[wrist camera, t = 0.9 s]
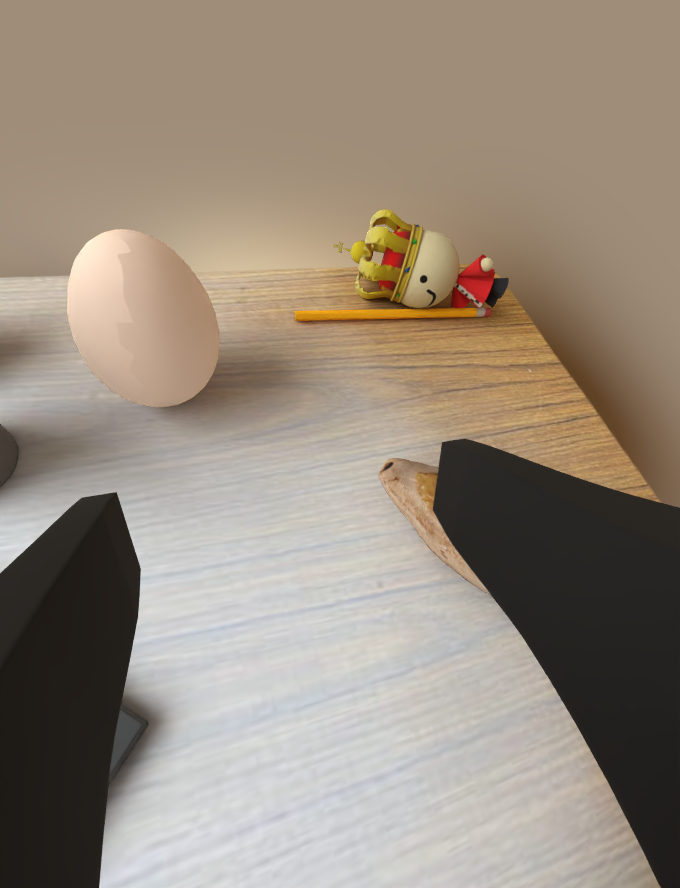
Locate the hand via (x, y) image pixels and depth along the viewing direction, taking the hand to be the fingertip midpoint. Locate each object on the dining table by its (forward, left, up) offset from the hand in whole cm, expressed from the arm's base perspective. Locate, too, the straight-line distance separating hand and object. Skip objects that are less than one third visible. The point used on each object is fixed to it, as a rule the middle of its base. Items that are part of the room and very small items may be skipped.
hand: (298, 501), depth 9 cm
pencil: (+4, -26, -15) cm, 31 cm away
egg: (+15, -9, -16) cm, 24 cm away
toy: (-3, -31, -12) cm, 34 cm away
